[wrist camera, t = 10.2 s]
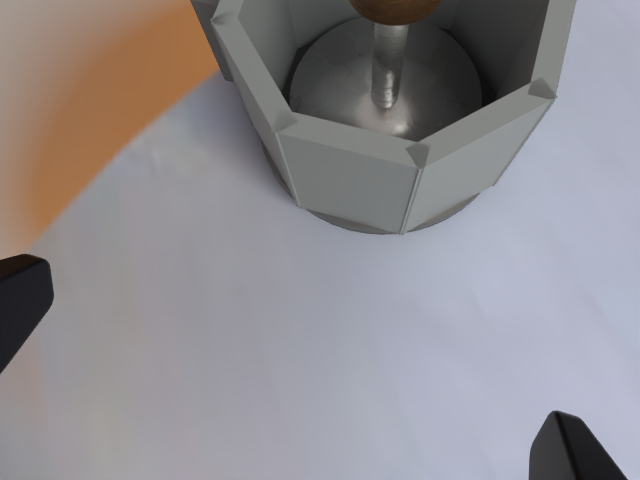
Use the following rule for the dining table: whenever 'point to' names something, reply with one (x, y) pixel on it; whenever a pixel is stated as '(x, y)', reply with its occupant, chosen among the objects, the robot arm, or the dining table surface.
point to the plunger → (388, 73)
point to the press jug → (379, 149)
